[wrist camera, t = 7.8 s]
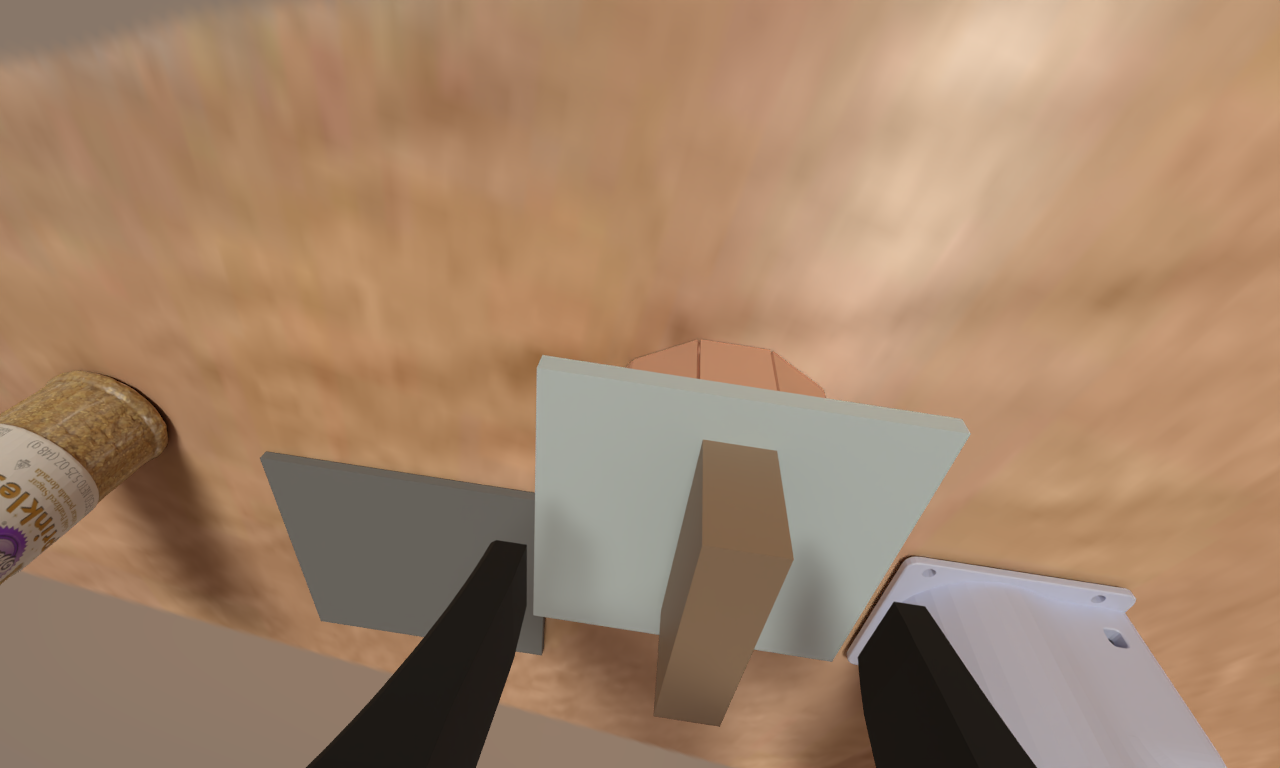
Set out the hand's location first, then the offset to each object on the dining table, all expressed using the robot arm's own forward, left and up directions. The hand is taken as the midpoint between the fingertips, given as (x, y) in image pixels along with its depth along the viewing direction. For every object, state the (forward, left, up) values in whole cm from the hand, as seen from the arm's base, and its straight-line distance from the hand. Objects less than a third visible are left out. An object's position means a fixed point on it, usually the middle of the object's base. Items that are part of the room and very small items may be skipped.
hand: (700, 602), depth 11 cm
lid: (-1, +4, -5) cm, 7 cm away
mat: (+11, +14, -9) cm, 20 cm away
